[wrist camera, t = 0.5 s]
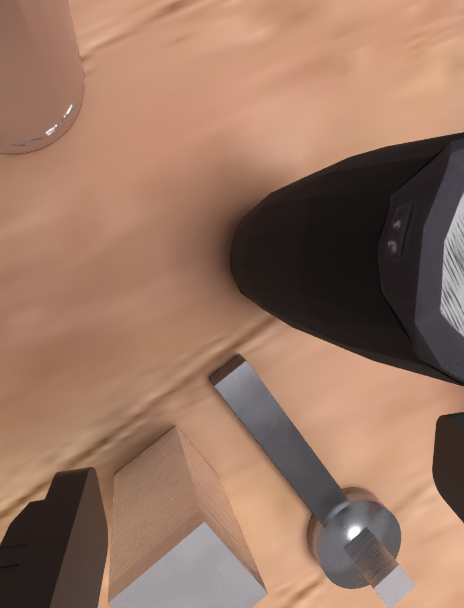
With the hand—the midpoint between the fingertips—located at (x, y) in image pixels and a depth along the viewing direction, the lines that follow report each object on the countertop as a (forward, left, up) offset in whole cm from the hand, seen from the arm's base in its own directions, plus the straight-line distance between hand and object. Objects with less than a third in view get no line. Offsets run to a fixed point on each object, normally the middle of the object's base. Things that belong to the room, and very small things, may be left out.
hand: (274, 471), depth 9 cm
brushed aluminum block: (+9, -7, -20) cm, 23 cm away
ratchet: (+15, +1, -20) cm, 25 cm away
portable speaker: (+1, +9, -20) cm, 22 cm away
